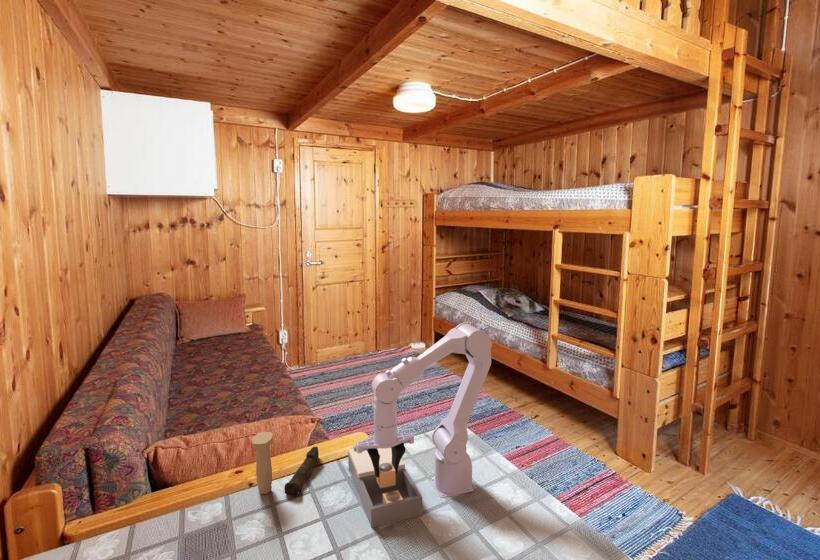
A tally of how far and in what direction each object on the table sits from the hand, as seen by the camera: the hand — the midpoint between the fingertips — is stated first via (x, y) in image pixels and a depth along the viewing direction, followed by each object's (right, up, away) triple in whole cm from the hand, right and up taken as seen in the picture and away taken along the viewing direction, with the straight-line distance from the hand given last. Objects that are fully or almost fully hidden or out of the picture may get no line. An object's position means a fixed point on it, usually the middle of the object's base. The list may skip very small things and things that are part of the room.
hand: (385, 473), depth 108 cm
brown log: (-24, -6, +11) cm, 27 cm away
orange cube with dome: (+2, -7, -5) cm, 9 cm away
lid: (-3, -1, +9) cm, 10 cm away
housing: (-1, -7, +4) cm, 8 cm away
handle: (-32, -7, +4) cm, 33 cm away
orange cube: (0, -2, 0) cm, 3 cm away
